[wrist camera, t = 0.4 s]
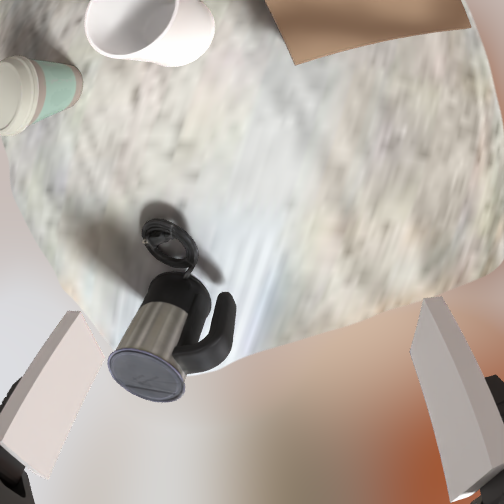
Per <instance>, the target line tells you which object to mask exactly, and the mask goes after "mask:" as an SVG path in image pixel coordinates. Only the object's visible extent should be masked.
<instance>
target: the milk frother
mask: <svg viewBox="0 0 504 504" xmlns="http://www.w3.org/2000/svg"><path fill="white" fill-rule="evenodd" d="M142 237H143V241H142V242H143V244H145V246H146V247H147V249H148V250H149V252H150V253H151V254H152V255H153V256H154V257H155V258H156V259H157V260H159V261H161V262H163V263H164V264H167V265H169V266H172V267H175V268H188V270H187V271H186V272H185V274H184V273H180V272H166V273H163V274H160V275H158V276H157V277H156V278H155V279H153V281H152V282H151V284H150V286H149V291H148V293H147V295H146V297H145V299H144V301H143V303H142V304H141V306H140V308H139V310H138V312H137V313H136V315H135V317H134V318H133V320H132V322H131V324H130V325H129V327H128V329H127V331H126V332H125V334H124V336H123V338H122V340H121V341H120V343H119V345H118V347H117V349H116V351H114V352H112V353H111V354H110V356H109V358H108V368H109V371H110V373H111V375H112V377H113V378H114V379H115V380H116V382H117V383H118V384H120V385H121V386H122V387H124V388H125V389H126V390H127V391H129V392H130V393H132V394H134V395H136V396H138V397H141V398H143V399H146V400H150V401H154V402H172V401H176V400H177V399H179V398H181V396H182V395H183V394H184V392H185V383H184V381H185V378H186V375H187V374H191V373H198V372H204V371H207V370H210V369H212V368H214V367H216V366H218V365H219V364H220V363H222V362H223V361H224V360H225V359H226V357H227V356H228V354H229V353H230V351H231V348H232V343H233V334H234V326H235V316H236V304H235V301H234V299H233V297H232V295H231V294H230V293H229V292H222V293H220V294H219V295H218V297H217V301H216V305H215V309H214V314H213V317H212V321H211V326H210V331H209V334H208V335H207V336H206V337H205V338H204V339H203V340H201V341H200V342H198V341H199V338H200V334H201V332H202V329H203V326H204V323H205V320H206V318H207V316H208V315H209V313H210V310H211V298H210V295H209V293H208V291H207V290H206V288H205V287H204V286H203V285H202V284H201V283H200V282H199V281H198V280H197V279H195V278H193V277H192V276H190V273H191V272H192V270H193V269H194V267H195V265H196V263H197V260H198V256H199V253H198V248H197V246H196V243H195V242H194V240H193V239H192V237H191V236H190V235H189V234H188V233H187V232H186V231H184V230H183V229H182V228H180V227H179V226H177V225H175V224H174V223H172V222H169V221H167V220H164V219H152V220H149V221H148V222H147V223H146V224H145V225H144V226H143V229H142ZM174 238H177V239H178V240H179V241H180V242H181V243H182V244H183V245H184V247H185V249H186V258H184V259H175V258H172V257H169V256H167V255H166V254H164V253H162V252H161V251H160V250H159V249H158V248H157V246H158V245H159V244H161V243H163V242H168V241H169V239H172V240H173V239H174Z"/></svg>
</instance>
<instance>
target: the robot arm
mask: <svg viewBox="0 0 504 504" xmlns="http://www.w3.org/2000/svg"><path fill="white" fill-rule="evenodd" d="M410 355H411V358H412V361H413V364H414V367H415V370H416V373H417V376H418V379H419V382H420V385H421V388H422V391H423V395H424V398H425V401H426V404H427V407H428V411H429V415H430V418H431V421H432V425H433V429H434V433H435V437H436V440H437V444H438V448H439V452H440V456H441V460H442V464H443V469H444V474H445V478H446V483H447V488H448V493H449V498H450V502H454V501H457V500H460V499H462V498H465V497H468V496H471V495H472V494H474V493H475V492H476V491H478V490H479V489H480V492H481V496H479V497H478V498H477V499H475V500H474V501H472V502H471V504H504V382H503V381H502V380H501V379H500V378H499V377H498V376H497V375H493V376H489V377H485V378H484V376H483V374H482V372H481V370H480V368H479V365H478V363H477V361H476V359H475V357H474V355H473V353H472V351H471V349H470V347H469V345H468V343H467V341H466V339H465V337H464V335H463V333H462V332H461V330H460V328H459V326H458V324H457V322H456V320H455V319H454V317H453V315H452V314H451V311H450V310H449V308H448V306H447V304H446V303H445V301H444V299H443V297H442V296H440V297H432V298H424V299H423V303H422V307H421V311H420V315H419V320H418V324H417V327H416V331H415V335H414V338H413V342H412V345H411V349H410ZM104 360H105V356H104V355H103V353H102V351H101V349H100V348H99V346H98V344H97V342H96V340H95V338H94V336H93V334H92V332H91V330H90V328H89V326H88V324H87V323H86V320H85V318H84V316H83V314H82V312H81V311H67V313H66V314H65V315H64V317H63V318H62V320H61V321H60V322H59V324H58V325H57V326H56V328H55V329H54V331H53V332H52V334H51V335H50V337H49V338H48V339H47V341H46V342H45V344H44V345H43V347H42V348H41V349H40V351H39V352H38V354H37V355H36V357H35V358H34V360H33V362H32V363H31V364H30V366H29V367H28V369H27V371H26V372H25V374H24V375H23V377H21V378H20V379H19V380H18V381H17V382H15V383H14V384H13V385H12V387H11V389H10V390H9V392H8V393H7V397H5V398H4V400H3V402H2V405H0V504H35V503H34V499H33V495H32V491H31V487H30V483H29V479H28V475H27V473H26V472H25V471H24V468H25V467H27V468H28V469H29V470H30V471H32V472H33V473H34V474H36V475H38V476H40V477H43V478H45V479H47V480H49V478H50V475H51V473H52V470H53V468H54V466H55V463H56V461H57V459H58V456H59V453H60V452H61V449H62V447H63V445H64V442H65V440H66V438H67V436H68V433H69V431H70V429H71V427H72V425H73V423H74V421H75V418H76V416H77V414H78V412H79V410H80V408H81V405H82V404H83V402H84V399H85V397H86V395H87V393H88V391H89V389H90V387H91V385H92V383H93V381H94V379H95V377H96V375H97V373H98V371H99V369H100V367H101V366H102V364H103V361H104Z"/></svg>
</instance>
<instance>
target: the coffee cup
mask: <svg viewBox="0 0 504 504" xmlns="http://www.w3.org/2000/svg"><path fill="white" fill-rule="evenodd" d="M82 88H83V79H82V76H81V73H80V71H79V70H78V69H77V68H76V67H74V66H72V65H67V64H61V63H55V62H48V61H41V60H33V59H27V58H26V57H24V56H20V55H15V56H11V57H8V58H5V59H4V60H2V61H1V62H0V135H1V136H14V135H17V134H19V133H21V132H22V131H23V130H24V129H25V128H26V127H27V126H29V125H32V124H34V123H36V122H38V121H40V120H42V119H44V118H47V117H49V116H51V115H53V114H56V113H58V112H60V111H63V110H65V109H67V108H70V107H71V106H73V105H74V104H75V103H76V102H77V101H78V99H79V97H80V95H81V93H82Z"/></svg>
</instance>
